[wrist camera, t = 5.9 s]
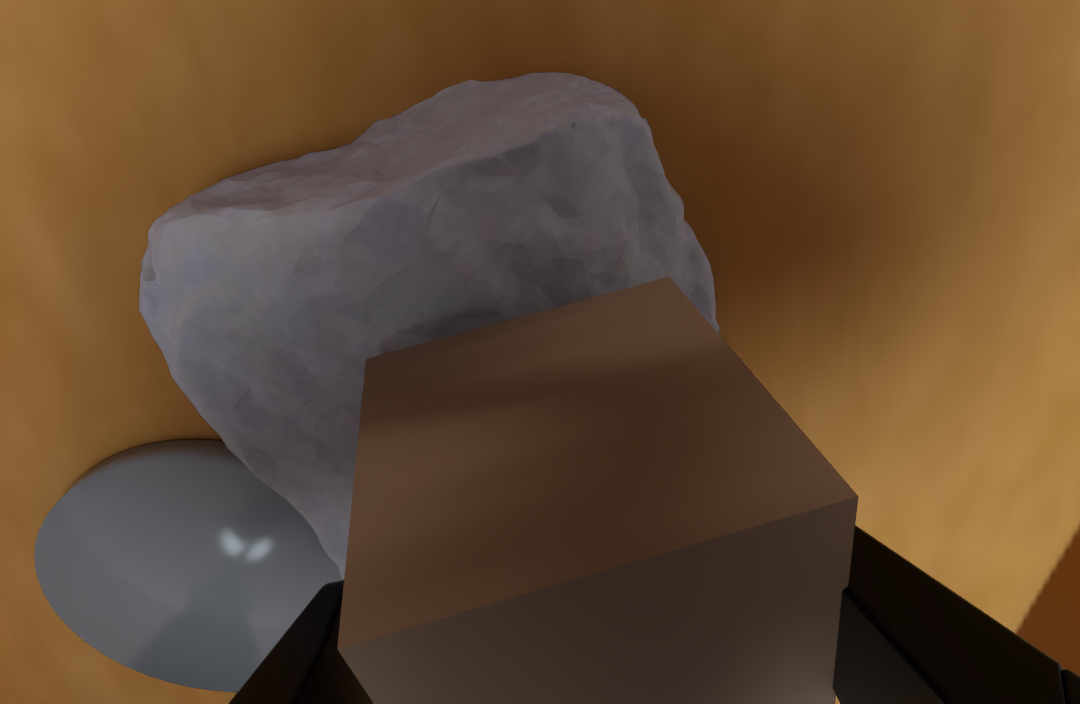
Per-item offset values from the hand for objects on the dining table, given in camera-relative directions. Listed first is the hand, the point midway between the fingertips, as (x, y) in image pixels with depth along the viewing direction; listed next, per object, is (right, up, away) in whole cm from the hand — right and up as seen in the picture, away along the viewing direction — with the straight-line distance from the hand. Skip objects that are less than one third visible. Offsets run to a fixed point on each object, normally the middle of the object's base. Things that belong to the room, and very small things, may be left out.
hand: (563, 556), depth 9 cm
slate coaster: (-9, -3, +9) cm, 13 cm away
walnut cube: (0, +1, +2) cm, 3 cm away
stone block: (-1, +3, +6) cm, 7 cm away
